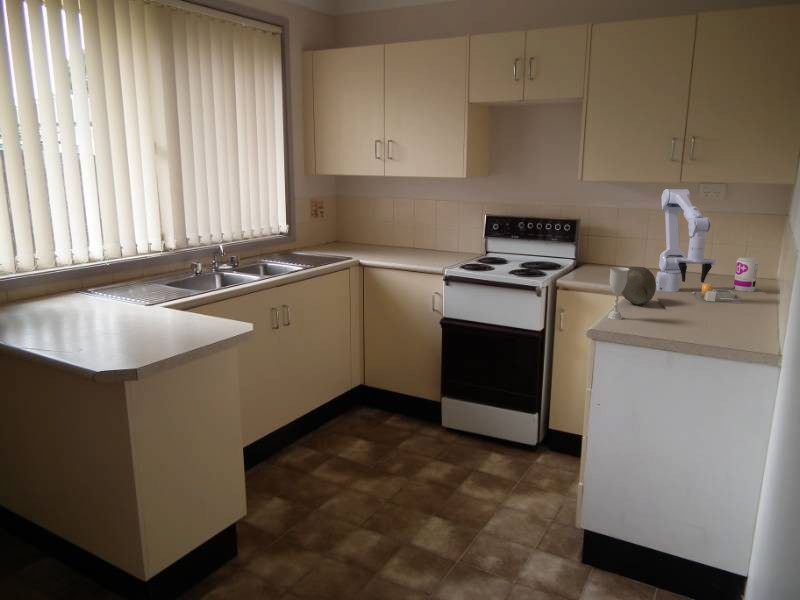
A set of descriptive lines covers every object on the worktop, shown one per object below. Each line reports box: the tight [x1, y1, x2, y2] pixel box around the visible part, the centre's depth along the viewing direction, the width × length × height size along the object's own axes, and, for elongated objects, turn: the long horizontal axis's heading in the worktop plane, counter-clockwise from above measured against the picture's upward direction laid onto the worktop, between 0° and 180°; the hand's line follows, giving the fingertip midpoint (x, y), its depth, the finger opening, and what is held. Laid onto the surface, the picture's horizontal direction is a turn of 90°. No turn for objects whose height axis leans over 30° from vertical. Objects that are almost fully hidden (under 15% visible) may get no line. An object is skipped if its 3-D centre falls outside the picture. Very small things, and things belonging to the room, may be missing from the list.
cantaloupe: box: [620, 266, 657, 306], centre depth 249 cm, size 14×14×15 cm
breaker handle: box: [704, 290, 716, 302], centre depth 253 cm, size 3×4×4 cm
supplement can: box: [732, 256, 759, 293], centre depth 274 cm, size 8×8×15 cm
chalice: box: [607, 266, 629, 321], centre depth 226 cm, size 7×7×18 cm
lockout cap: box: [700, 282, 713, 297], centre depth 261 cm, size 4×4×5 cm
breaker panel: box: [689, 291, 744, 305], centre depth 258 cm, size 16×18×2 cm
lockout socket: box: [711, 288, 735, 298], centre depth 262 cm, size 7×7×2 cm
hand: (692, 281), depth 253 cm, fingers open, 6 cm apart
